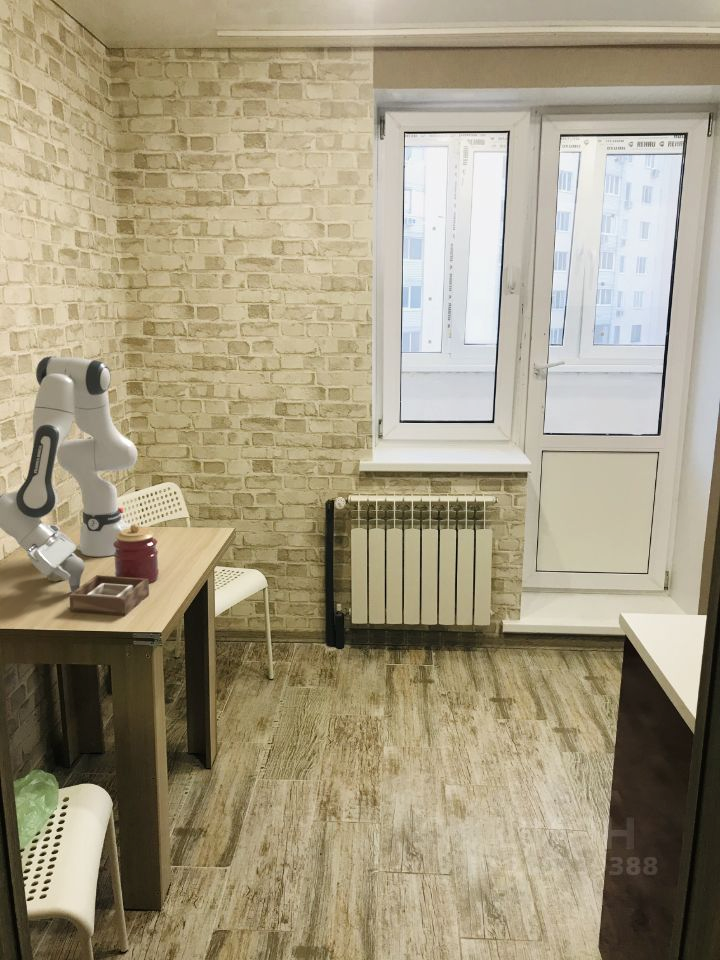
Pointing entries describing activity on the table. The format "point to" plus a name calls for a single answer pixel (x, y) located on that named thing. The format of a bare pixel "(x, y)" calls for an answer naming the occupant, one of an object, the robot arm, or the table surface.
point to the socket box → (109, 595)
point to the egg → (74, 571)
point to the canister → (136, 554)
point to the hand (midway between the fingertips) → (75, 572)
